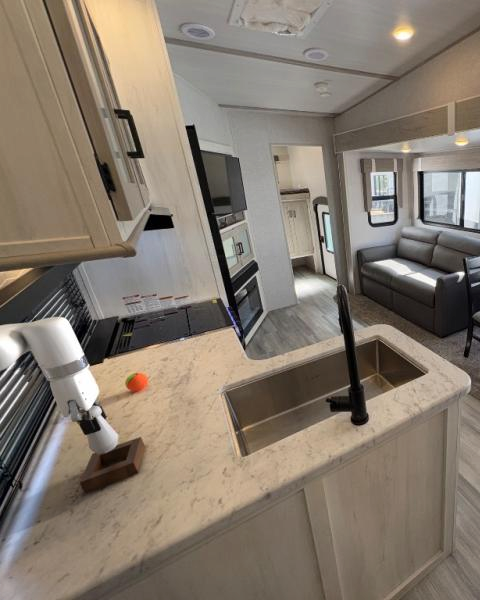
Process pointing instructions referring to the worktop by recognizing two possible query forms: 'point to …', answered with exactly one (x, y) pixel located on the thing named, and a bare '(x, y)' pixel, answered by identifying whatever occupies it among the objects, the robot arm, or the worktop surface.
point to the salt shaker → (101, 434)
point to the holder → (102, 477)
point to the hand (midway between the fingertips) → (96, 425)
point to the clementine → (136, 381)
